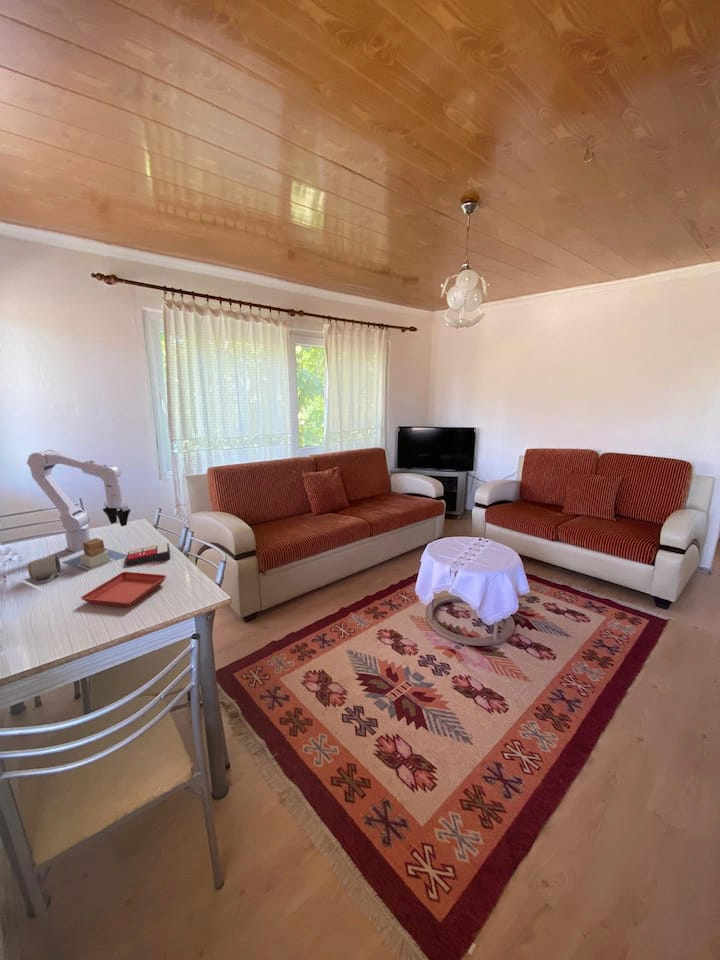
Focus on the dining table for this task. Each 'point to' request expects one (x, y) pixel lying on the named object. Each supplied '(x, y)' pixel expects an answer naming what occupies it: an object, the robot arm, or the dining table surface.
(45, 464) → the robot arm
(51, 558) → the ceramic mug
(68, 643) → the dining table surface
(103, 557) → the sage base block
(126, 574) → the plant saucer
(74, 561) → the board
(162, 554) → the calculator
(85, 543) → the walnut block
